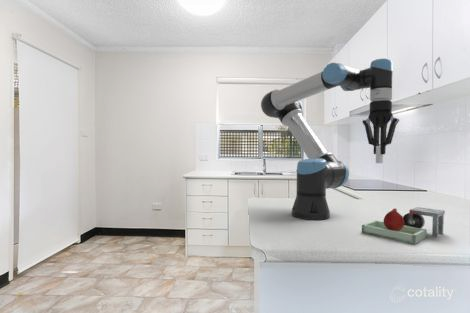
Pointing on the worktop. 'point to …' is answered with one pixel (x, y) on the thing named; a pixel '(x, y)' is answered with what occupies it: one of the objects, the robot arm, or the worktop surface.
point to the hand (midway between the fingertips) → (379, 163)
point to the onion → (393, 220)
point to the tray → (395, 232)
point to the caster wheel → (417, 220)
